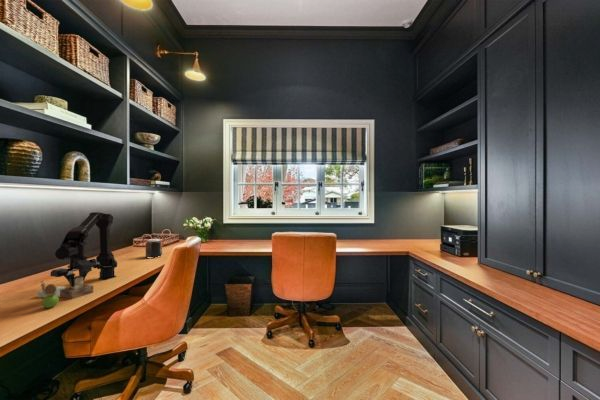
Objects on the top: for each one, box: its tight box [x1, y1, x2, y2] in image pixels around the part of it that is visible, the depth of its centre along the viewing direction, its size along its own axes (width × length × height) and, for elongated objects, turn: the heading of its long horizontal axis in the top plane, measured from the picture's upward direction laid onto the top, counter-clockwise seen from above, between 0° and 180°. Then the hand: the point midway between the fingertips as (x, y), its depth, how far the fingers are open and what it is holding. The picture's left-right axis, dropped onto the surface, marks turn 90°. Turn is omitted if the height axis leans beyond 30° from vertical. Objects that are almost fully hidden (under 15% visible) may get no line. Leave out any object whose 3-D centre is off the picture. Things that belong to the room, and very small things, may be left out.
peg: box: [70, 275, 84, 290], centre depth 125 cm, size 3×3×6 cm
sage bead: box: [37, 285, 67, 298], centre depth 125 cm, size 7×7×3 cm
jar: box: [145, 238, 163, 258], centre depth 208 cm, size 12×12×15 cm
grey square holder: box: [59, 283, 94, 300], centre depth 125 cm, size 9×9×4 cm
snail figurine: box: [40, 280, 60, 309], centre depth 110 cm, size 5×6×12 cm
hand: (77, 285), depth 125 cm, fingers closed on peg, 3 cm apart
